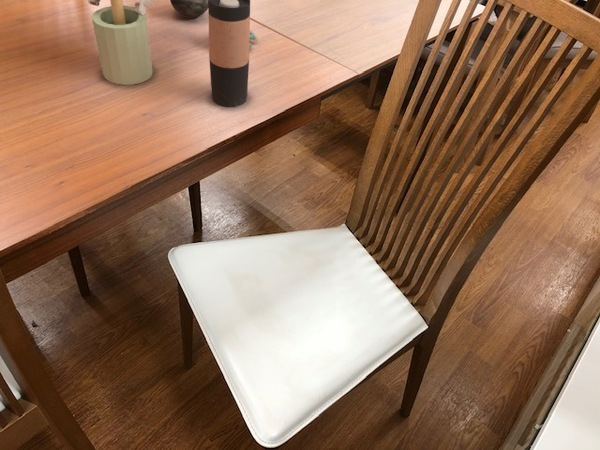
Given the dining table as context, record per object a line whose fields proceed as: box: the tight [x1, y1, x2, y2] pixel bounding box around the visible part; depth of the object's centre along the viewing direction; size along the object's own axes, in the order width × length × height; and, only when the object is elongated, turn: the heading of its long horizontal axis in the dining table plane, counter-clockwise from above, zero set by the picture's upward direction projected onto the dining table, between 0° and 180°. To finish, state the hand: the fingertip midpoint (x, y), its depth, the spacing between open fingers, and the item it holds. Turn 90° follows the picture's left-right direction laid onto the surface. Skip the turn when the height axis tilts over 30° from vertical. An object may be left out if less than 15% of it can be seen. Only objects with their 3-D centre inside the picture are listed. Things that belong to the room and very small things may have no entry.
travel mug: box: [207, 0, 251, 108], centre depth 97 cm, size 8×8×20 cm
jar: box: [91, 5, 154, 86], centre depth 103 cm, size 10×10×12 cm
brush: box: [109, 0, 126, 25], centre depth 99 cm, size 4×4×20 cm
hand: (115, 9), depth 97 cm, fingers open, 8 cm apart
